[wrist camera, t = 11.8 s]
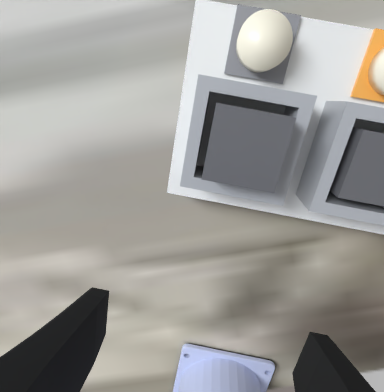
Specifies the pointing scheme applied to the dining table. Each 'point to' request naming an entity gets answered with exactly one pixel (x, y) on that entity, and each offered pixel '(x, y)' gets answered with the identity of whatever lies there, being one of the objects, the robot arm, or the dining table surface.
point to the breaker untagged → (247, 147)
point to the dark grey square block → (361, 168)
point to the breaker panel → (281, 105)
